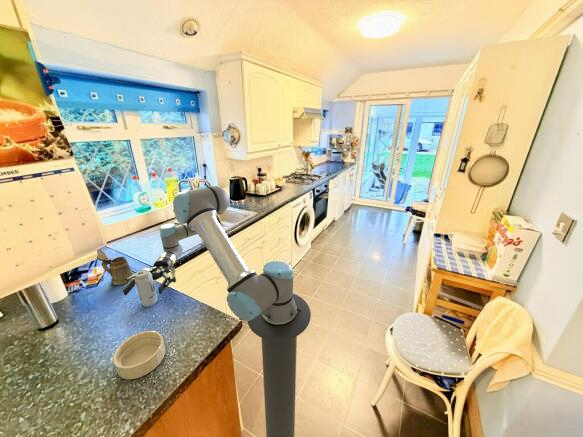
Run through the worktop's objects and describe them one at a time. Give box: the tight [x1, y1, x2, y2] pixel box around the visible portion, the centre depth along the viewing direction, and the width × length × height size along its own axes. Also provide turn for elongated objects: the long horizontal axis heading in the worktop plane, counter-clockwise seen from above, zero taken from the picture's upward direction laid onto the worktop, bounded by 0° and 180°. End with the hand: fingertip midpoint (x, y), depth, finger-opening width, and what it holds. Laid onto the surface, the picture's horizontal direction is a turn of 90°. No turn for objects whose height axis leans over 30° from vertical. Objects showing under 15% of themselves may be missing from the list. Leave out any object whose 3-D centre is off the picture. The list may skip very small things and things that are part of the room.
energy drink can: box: [134, 269, 158, 308], centre depth 97 cm, size 6×6×15 cm
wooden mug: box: [96, 249, 135, 286], centre depth 110 cm, size 9×14×18 cm, turn 105°
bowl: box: [112, 330, 166, 380], centre depth 74 cm, size 13×13×6 cm
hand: (142, 292), depth 94 cm, fingers open, 13 cm apart
